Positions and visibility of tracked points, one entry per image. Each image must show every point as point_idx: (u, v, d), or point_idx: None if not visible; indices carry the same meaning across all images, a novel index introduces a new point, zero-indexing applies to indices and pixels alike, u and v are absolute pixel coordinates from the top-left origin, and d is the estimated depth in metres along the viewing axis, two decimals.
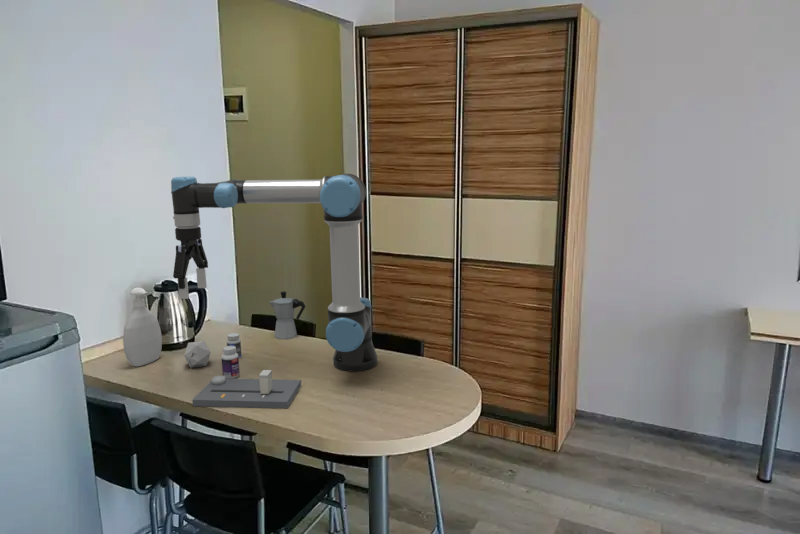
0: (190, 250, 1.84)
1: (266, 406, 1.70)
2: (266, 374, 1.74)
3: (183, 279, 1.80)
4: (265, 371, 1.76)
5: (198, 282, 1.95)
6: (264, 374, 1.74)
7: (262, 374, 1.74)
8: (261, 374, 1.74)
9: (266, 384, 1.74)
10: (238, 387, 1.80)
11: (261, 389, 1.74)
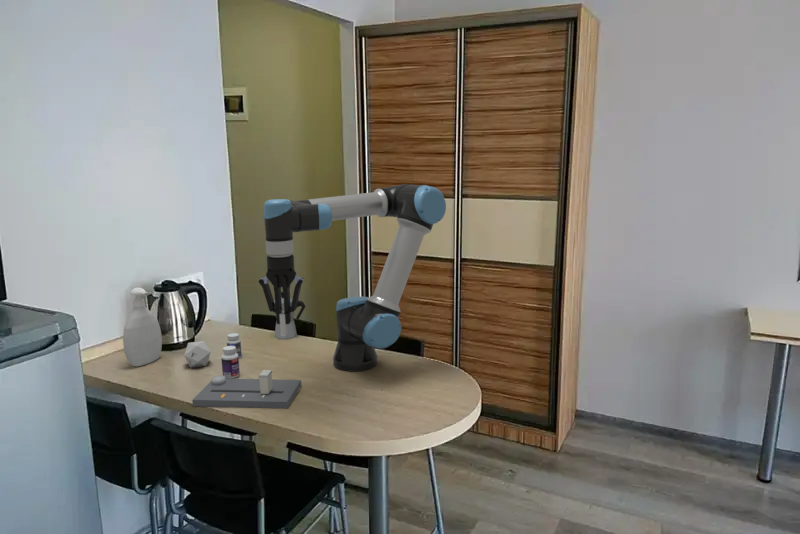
0: None
1: (266, 406, 1.70)
2: (266, 374, 1.74)
3: (278, 314, 1.70)
4: (265, 371, 1.76)
5: None
6: (264, 374, 1.74)
7: (262, 374, 1.74)
8: (261, 374, 1.74)
9: (266, 384, 1.74)
10: (238, 387, 1.80)
11: (261, 389, 1.74)
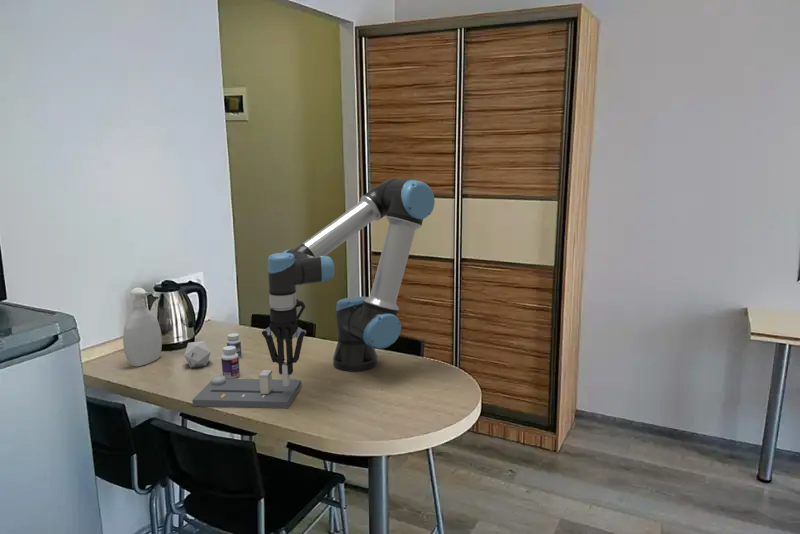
0: None
1: (266, 406, 1.70)
2: (266, 374, 1.74)
3: (280, 365, 1.73)
4: (265, 371, 1.76)
5: None
6: (264, 374, 1.74)
7: (262, 374, 1.74)
8: (261, 374, 1.74)
9: (266, 384, 1.74)
10: (238, 387, 1.80)
11: (261, 389, 1.74)
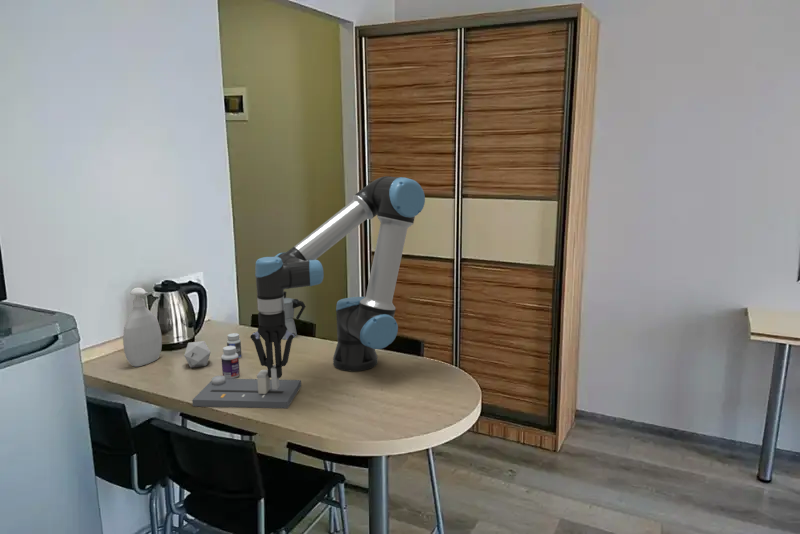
0: (265, 337, 1.71)
1: (266, 406, 1.70)
2: (264, 374, 1.74)
3: (269, 368, 1.74)
4: (263, 371, 1.76)
5: None
6: (262, 374, 1.74)
7: (260, 374, 1.74)
8: (259, 374, 1.74)
9: (264, 384, 1.74)
10: (238, 387, 1.80)
11: (259, 389, 1.74)
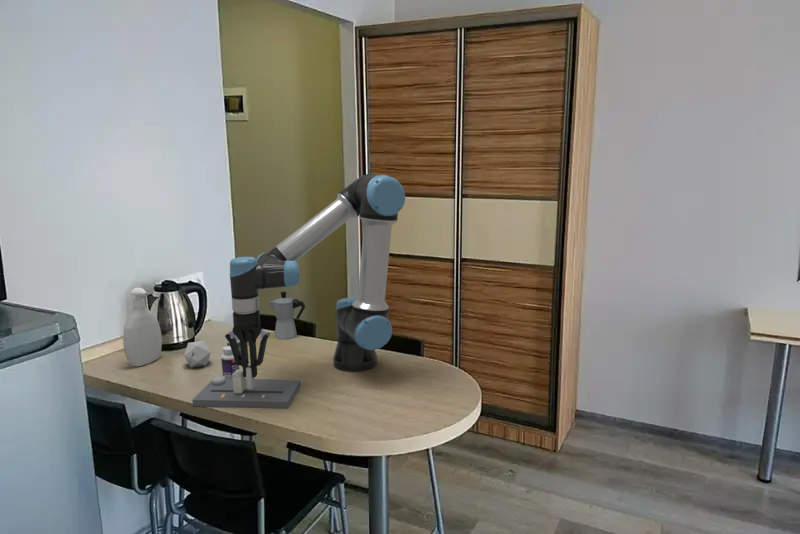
0: None
1: (266, 406, 1.70)
2: (239, 374, 1.75)
3: (244, 368, 1.75)
4: (238, 371, 1.77)
5: None
6: (237, 374, 1.75)
7: (235, 373, 1.75)
8: (234, 374, 1.75)
9: (239, 383, 1.75)
10: None
11: (234, 388, 1.75)
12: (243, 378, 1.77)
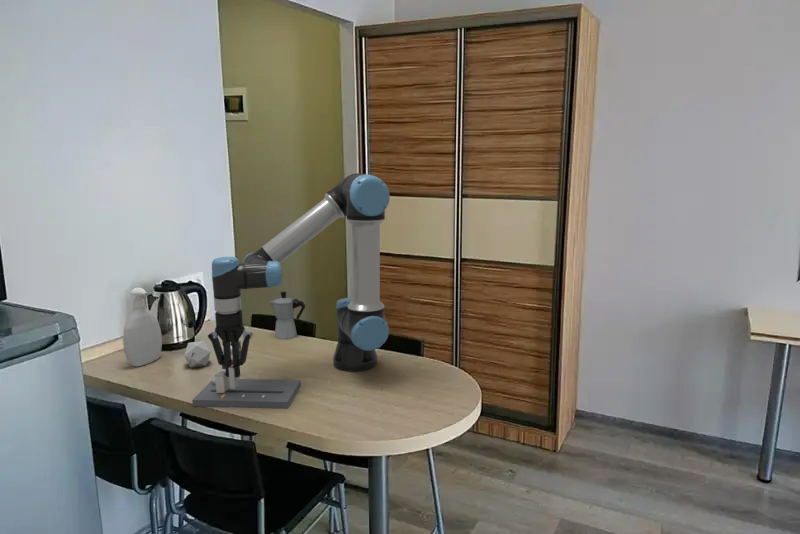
0: None
1: (266, 406, 1.70)
2: (222, 373, 1.75)
3: (227, 368, 1.75)
4: (221, 370, 1.77)
5: None
6: (220, 373, 1.75)
7: (218, 373, 1.75)
8: (217, 373, 1.75)
9: (222, 383, 1.75)
10: (238, 387, 1.80)
11: (217, 388, 1.75)
12: (226, 378, 1.77)
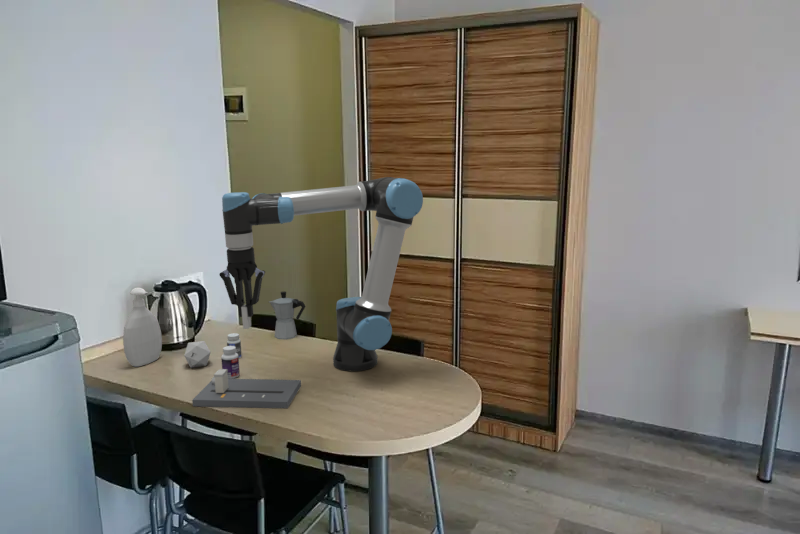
0: (234, 275, 1.68)
1: (266, 406, 1.70)
2: (221, 373, 1.75)
3: (240, 307, 1.71)
4: (221, 370, 1.77)
5: None
6: (219, 373, 1.75)
7: (217, 373, 1.75)
8: (216, 373, 1.75)
9: (221, 383, 1.75)
10: (238, 387, 1.80)
11: (216, 388, 1.75)
12: (225, 378, 1.77)
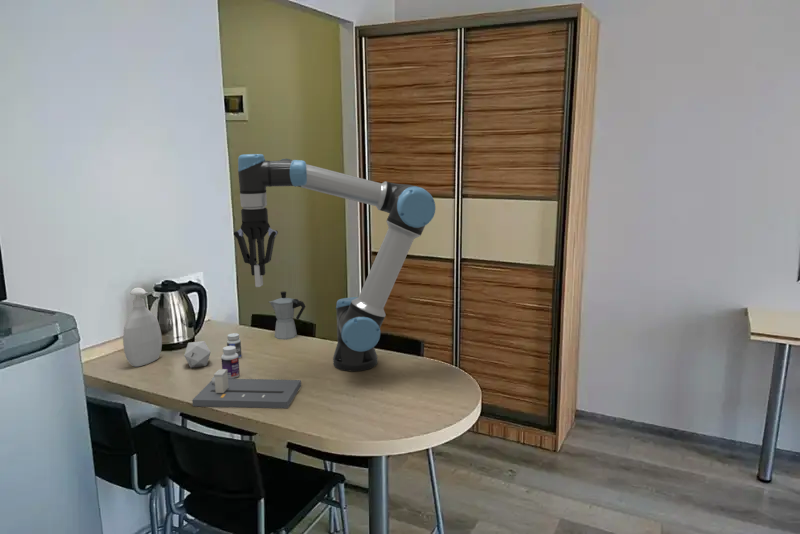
0: (248, 234, 1.74)
1: (266, 406, 1.70)
2: (221, 373, 1.75)
3: (252, 266, 1.77)
4: (221, 370, 1.77)
5: None
6: (219, 373, 1.75)
7: (217, 373, 1.75)
8: (216, 373, 1.75)
9: (221, 383, 1.75)
10: (238, 387, 1.80)
11: (216, 388, 1.75)
12: (225, 378, 1.77)
